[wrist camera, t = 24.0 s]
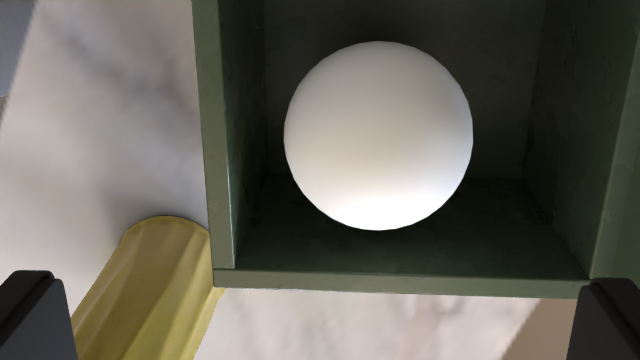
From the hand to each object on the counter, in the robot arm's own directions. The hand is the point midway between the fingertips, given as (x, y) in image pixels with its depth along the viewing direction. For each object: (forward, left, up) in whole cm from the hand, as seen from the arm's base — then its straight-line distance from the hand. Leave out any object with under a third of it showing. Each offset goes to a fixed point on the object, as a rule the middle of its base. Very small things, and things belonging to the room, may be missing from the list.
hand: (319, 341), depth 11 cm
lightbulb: (+1, +1, -18) cm, 18 cm away
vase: (-9, -10, -19) cm, 23 cm away
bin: (+3, +1, -19) cm, 19 cm away
